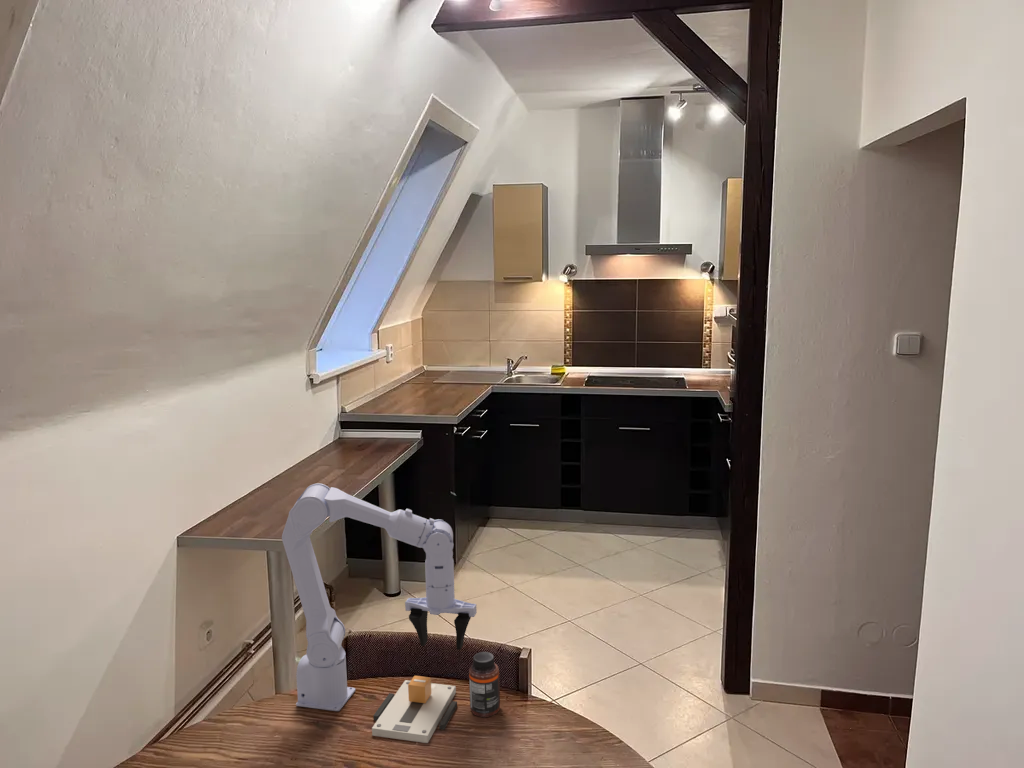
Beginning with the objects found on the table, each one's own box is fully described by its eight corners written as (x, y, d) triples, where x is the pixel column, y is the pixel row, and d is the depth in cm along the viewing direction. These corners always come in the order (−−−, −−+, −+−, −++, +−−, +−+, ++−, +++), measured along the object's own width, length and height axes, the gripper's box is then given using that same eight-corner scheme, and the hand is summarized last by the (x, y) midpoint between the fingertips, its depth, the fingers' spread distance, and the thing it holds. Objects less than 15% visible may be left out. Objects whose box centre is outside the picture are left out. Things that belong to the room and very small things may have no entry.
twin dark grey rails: (373, 720, 146) (373, 715, 146) (389, 697, 154) (389, 693, 154) (444, 729, 143) (444, 724, 143) (457, 706, 151) (456, 701, 151)
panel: (372, 735, 142) (371, 727, 142) (405, 686, 158) (405, 679, 158) (427, 743, 139) (427, 735, 139) (455, 692, 156) (455, 685, 155)
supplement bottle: (483, 697, 154) (482, 645, 152) (506, 708, 150) (505, 654, 148) (463, 711, 149) (462, 657, 147) (486, 722, 145) (485, 667, 144)
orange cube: (408, 701, 150) (408, 684, 149) (415, 691, 153) (414, 675, 152) (425, 703, 149) (424, 686, 148) (431, 693, 152) (430, 677, 152)
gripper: (398, 587, 150) (401, 651, 152) (468, 593, 146) (470, 659, 149) (411, 573, 157) (413, 634, 159) (478, 579, 153) (480, 641, 155)
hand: (441, 645), depth 154 cm, fingers open, 7 cm apart
